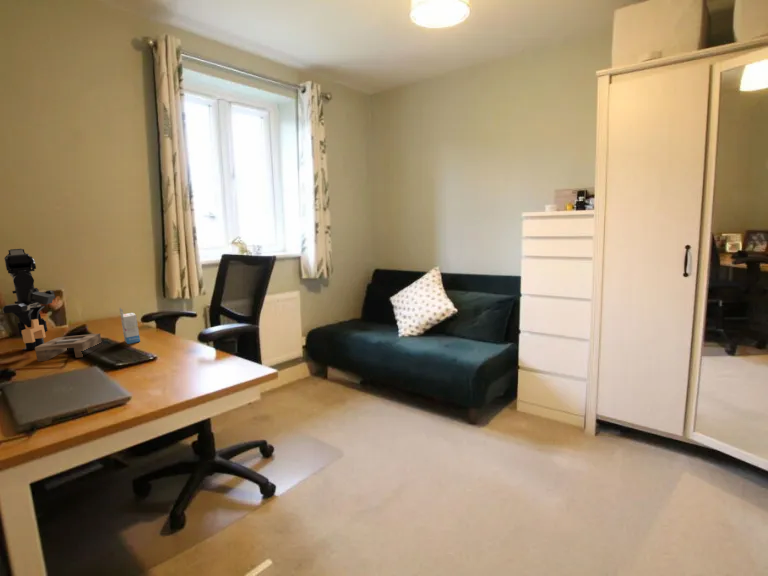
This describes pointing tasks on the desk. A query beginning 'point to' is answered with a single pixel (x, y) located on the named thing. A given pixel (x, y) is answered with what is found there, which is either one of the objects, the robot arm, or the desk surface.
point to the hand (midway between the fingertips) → (32, 326)
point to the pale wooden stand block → (33, 332)
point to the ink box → (130, 327)
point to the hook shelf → (66, 345)
